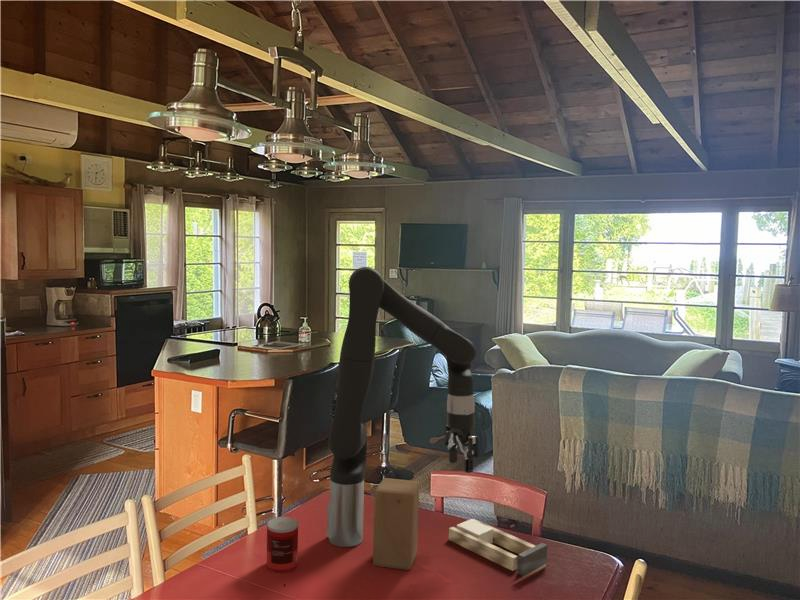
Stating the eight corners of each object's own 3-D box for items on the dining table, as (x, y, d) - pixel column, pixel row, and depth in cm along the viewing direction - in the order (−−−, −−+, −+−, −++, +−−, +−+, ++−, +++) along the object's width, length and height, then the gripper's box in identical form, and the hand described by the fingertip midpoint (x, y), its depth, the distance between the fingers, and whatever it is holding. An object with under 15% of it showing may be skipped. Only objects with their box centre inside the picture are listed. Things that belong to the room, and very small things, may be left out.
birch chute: (445, 541, 176) (446, 521, 175) (469, 531, 183) (470, 512, 182) (522, 578, 157) (523, 556, 156) (546, 566, 164) (547, 545, 163)
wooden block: (410, 572, 159) (413, 494, 157) (371, 566, 161) (373, 490, 159) (417, 553, 168) (420, 480, 167) (380, 548, 170) (382, 476, 169)
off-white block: (456, 538, 176) (456, 524, 175) (470, 532, 180) (471, 519, 179) (478, 549, 170) (478, 535, 170) (492, 542, 174) (493, 528, 174)
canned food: (285, 554, 166) (286, 514, 165) (303, 566, 160) (304, 524, 159) (260, 564, 160) (260, 522, 159) (278, 576, 155) (278, 533, 154)
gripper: (436, 405, 179) (436, 461, 181) (462, 417, 166) (462, 477, 168) (459, 402, 182) (459, 457, 184) (486, 414, 169) (486, 473, 171)
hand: (460, 467), depth 176 cm, fingers open, 8 cm apart
